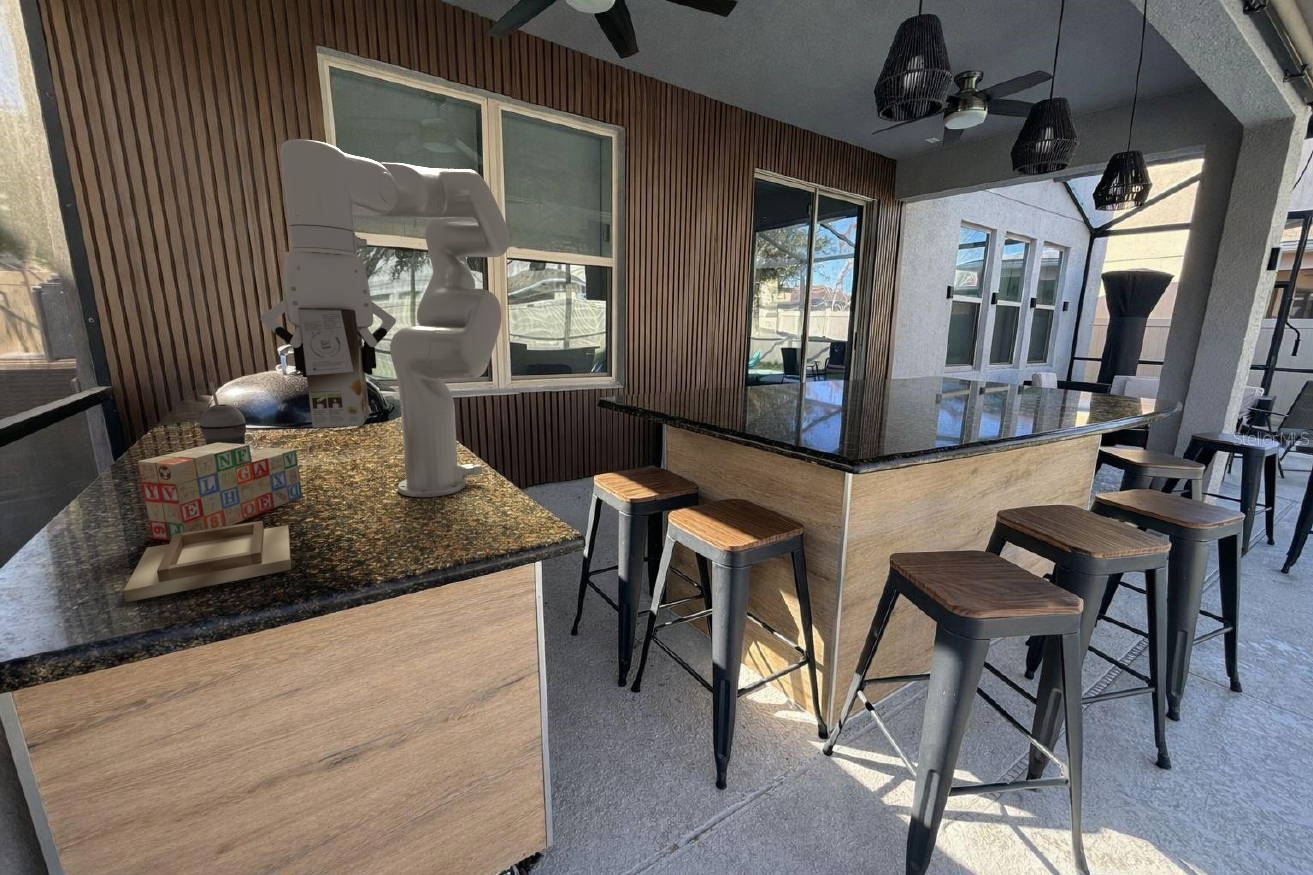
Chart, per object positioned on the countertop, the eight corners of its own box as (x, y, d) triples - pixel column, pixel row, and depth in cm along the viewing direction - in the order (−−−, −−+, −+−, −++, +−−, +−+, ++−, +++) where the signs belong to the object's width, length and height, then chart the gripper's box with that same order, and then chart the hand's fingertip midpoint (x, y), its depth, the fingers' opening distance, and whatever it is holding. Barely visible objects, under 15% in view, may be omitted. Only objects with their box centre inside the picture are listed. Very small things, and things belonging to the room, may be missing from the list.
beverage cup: (235, 487, 103) (220, 384, 99) (198, 486, 103) (181, 383, 99) (263, 476, 110) (250, 380, 106) (228, 475, 110) (213, 379, 106)
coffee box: (364, 426, 75) (353, 309, 71) (311, 429, 72) (296, 307, 69) (370, 414, 83) (360, 308, 79) (322, 416, 80) (309, 307, 77)
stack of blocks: (274, 495, 100) (265, 431, 98) (303, 497, 99) (295, 433, 97) (150, 539, 80) (136, 459, 77) (186, 543, 79) (172, 462, 76)
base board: (289, 534, 82) (286, 515, 82) (291, 569, 71) (288, 548, 71) (149, 557, 73) (145, 537, 73) (126, 602, 62) (121, 578, 62)
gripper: (389, 252, 80) (399, 370, 84) (244, 240, 70) (263, 374, 74) (399, 248, 74) (408, 375, 78) (241, 234, 64) (262, 380, 68)
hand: (337, 374), depth 76 cm, fingers closed on coffee box, 7 cm apart
